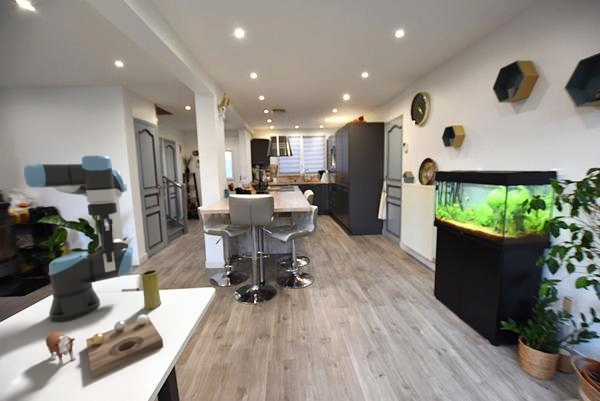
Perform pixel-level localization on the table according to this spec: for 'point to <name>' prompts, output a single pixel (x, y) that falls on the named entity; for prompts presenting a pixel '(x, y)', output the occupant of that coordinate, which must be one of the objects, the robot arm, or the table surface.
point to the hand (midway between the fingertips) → (110, 270)
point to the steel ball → (119, 326)
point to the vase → (151, 289)
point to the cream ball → (141, 319)
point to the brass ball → (97, 339)
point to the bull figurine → (59, 345)
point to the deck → (123, 347)
